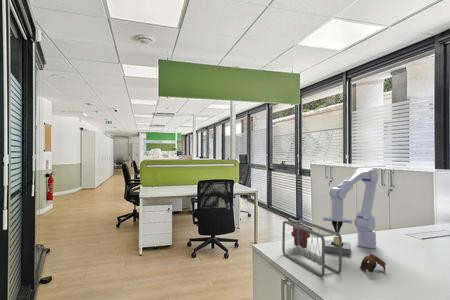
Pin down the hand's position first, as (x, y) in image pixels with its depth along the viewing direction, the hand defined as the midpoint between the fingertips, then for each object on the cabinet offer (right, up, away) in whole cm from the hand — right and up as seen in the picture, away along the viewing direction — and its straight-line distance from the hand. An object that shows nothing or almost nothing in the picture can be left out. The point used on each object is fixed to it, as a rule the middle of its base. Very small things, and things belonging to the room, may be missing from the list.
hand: (337, 235), depth 150 cm
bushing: (0, -8, 0) cm, 8 cm away
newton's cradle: (-20, -8, -18) cm, 28 cm away
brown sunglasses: (+5, -8, -26) cm, 28 cm away
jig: (0, -8, 0) cm, 8 cm away
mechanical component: (-19, -8, +4) cm, 21 cm away
